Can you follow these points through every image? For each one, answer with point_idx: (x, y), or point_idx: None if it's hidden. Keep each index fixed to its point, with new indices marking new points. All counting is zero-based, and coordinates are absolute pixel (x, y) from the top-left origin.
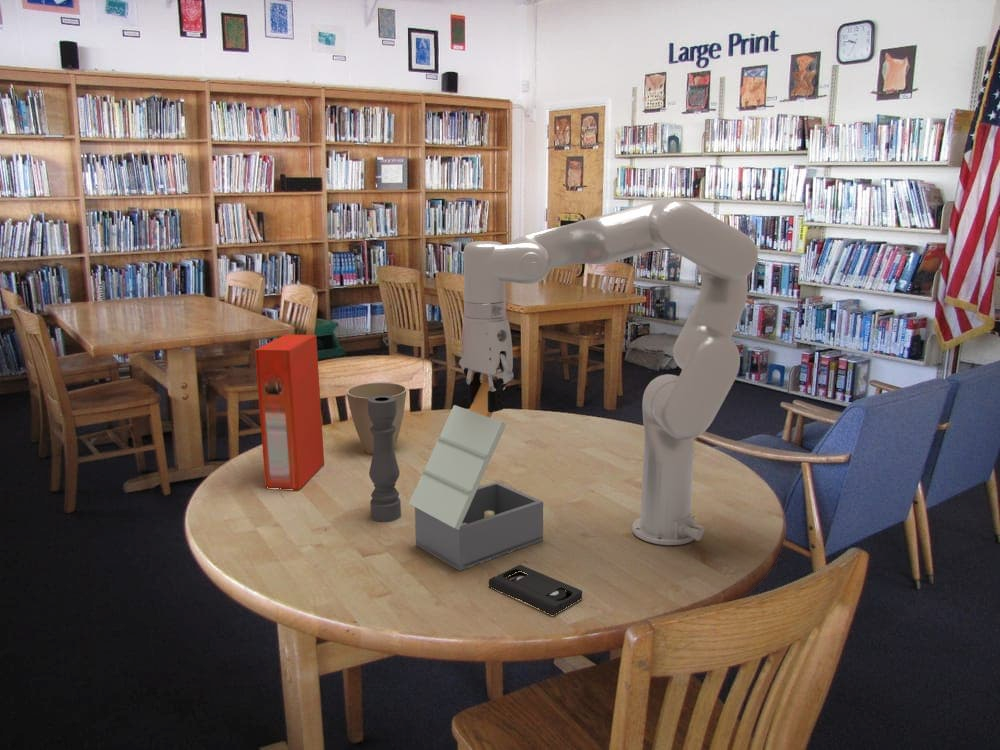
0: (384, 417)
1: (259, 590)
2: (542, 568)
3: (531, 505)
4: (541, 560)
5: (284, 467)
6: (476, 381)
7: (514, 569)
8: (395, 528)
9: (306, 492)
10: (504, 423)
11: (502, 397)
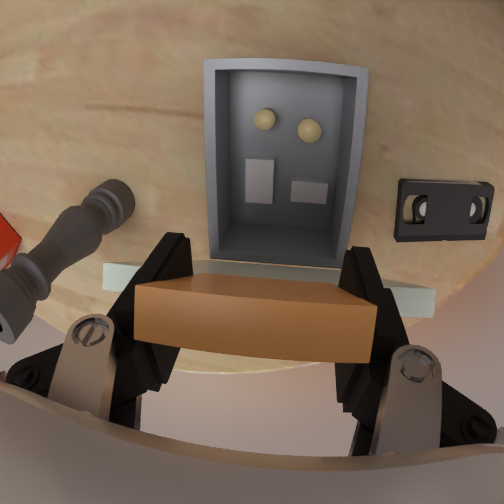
0: (31, 312)
1: (220, 371)
2: (415, 148)
3: (366, 100)
4: (398, 128)
5: (1, 261)
6: (138, 374)
7: (405, 198)
8: (159, 213)
9: (26, 234)
10: (434, 300)
11: (381, 293)
